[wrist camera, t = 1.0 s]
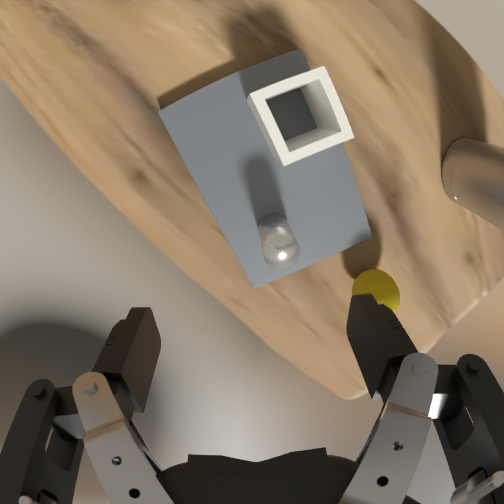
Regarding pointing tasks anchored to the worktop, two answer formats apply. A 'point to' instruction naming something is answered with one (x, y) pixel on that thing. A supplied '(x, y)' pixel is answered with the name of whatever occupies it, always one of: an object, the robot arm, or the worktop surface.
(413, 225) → the worktop surface
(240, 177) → the duct base
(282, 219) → the silver metal capsule
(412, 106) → the worktop surface
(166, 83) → the worktop surface
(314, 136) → the duct collar
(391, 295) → the lemon
